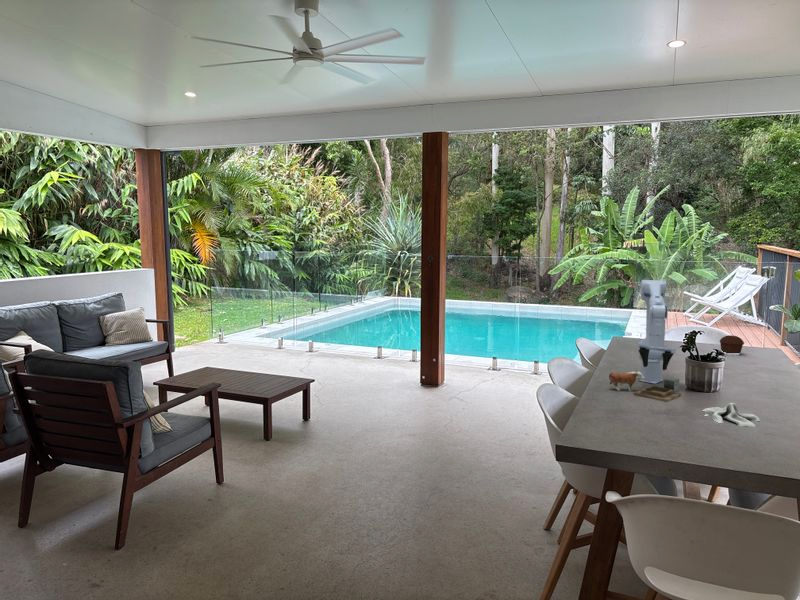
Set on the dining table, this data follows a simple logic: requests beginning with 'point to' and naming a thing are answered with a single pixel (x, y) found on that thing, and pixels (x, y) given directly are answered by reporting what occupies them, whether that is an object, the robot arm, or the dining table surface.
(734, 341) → the muffin
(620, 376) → the bull figurine
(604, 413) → the dining table surface
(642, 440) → the dining table surface
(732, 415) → the cloth
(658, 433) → the dining table surface
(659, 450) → the dining table surface
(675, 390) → the grey wood-grain block
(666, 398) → the brown square tray
